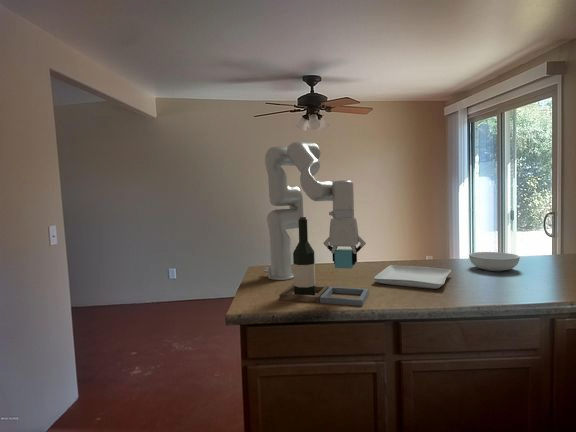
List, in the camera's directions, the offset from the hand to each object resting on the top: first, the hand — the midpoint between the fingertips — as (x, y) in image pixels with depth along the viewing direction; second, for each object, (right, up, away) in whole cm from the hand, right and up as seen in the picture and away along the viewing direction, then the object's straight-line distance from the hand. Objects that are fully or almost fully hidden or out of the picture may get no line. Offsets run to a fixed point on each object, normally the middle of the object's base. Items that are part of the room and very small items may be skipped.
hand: (344, 263), depth 135 cm
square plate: (+33, -11, +24) cm, 42 cm away
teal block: (0, -1, 0) cm, 1 cm away
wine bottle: (-14, -13, +6) cm, 20 cm away
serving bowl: (+76, -8, +40) cm, 86 cm away
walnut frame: (-14, -13, +6) cm, 20 cm away
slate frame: (0, -13, +1) cm, 13 cm away
